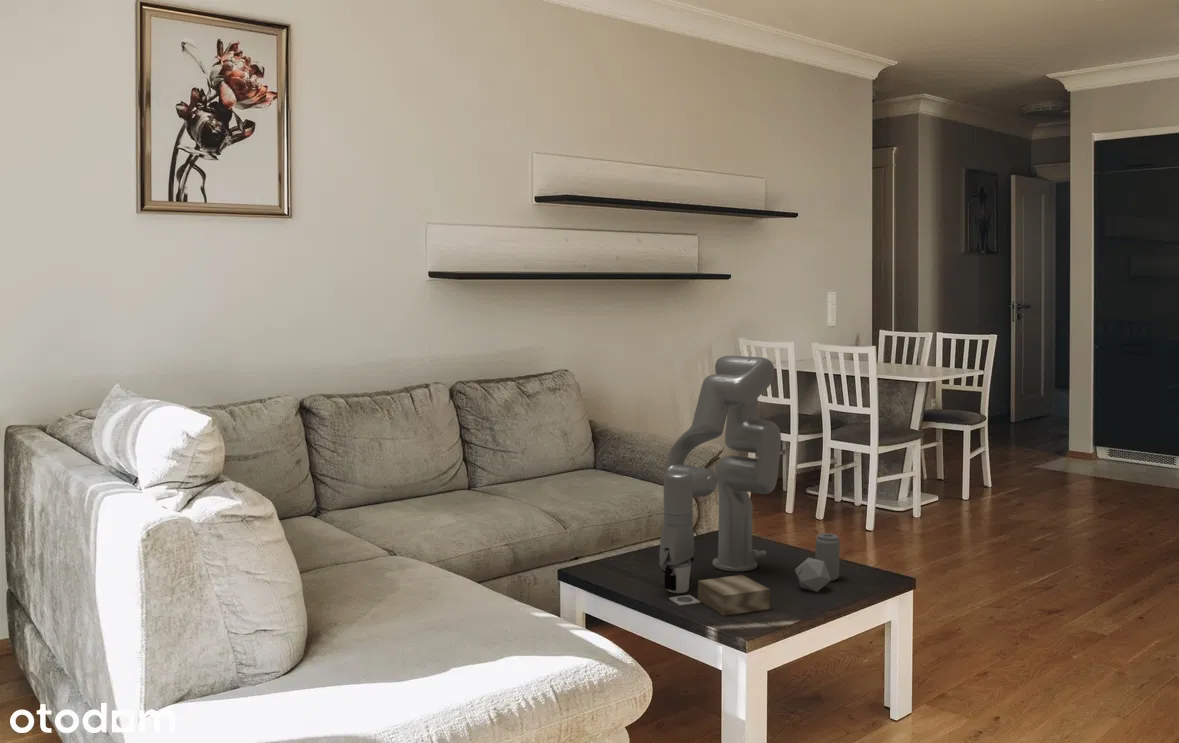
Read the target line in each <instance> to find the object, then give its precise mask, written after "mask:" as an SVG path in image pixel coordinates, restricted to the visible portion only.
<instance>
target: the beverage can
mask: <svg viewBox="0 0 1179 743" xmlns="http://www.w3.org/2000/svg"><path fill="white" fill-rule="evenodd" d="M840 543H841V541H840V538H839V535H837V534H834V533H829V532H828V533H826V532H825V533H823V532H822V533H818V534H816V538H815V548H814V549H815V551H814V552H815V553H814V554H815V556H814V559H817V560H820V561H824V562H825V564H826V567H827V570H828V573H829V575H830V578H831V580H830V581H829V582H834V581H836V580H837V579H839V577H840V553H841V552H840V548H841V547H840Z"/></svg>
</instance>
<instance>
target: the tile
mask: <svg viewBox="0 0 1179 743" xmlns="http://www.w3.org/2000/svg"><path fill="white" fill-rule="evenodd" d="M668 600H669V601H671V602H673V603H675V604H676V605H678V606H679V607H681V606H682V607H683V606H689V605H698V604H701V603H702V602H701V601H699V600H698V598H695V597H694V596H692V595H691V594H686V595H678V596H671V597H668Z"/></svg>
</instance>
